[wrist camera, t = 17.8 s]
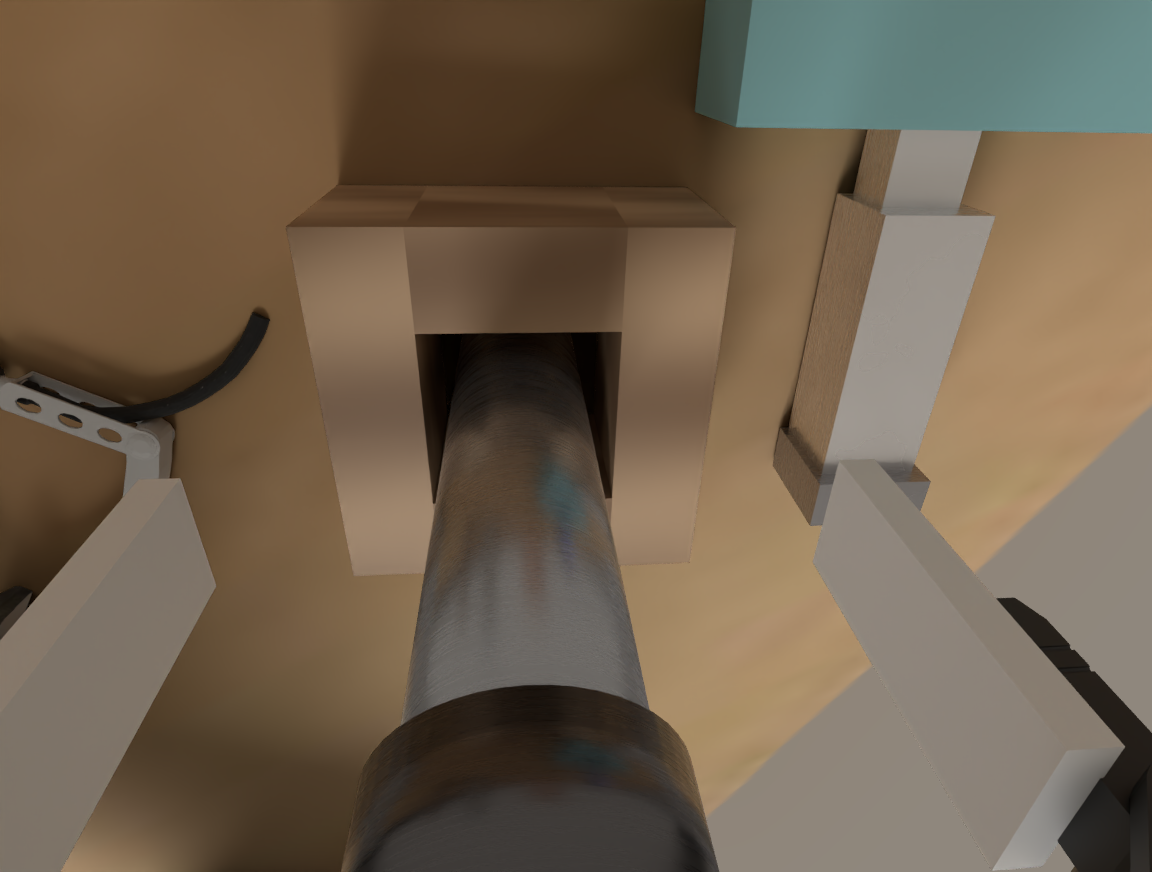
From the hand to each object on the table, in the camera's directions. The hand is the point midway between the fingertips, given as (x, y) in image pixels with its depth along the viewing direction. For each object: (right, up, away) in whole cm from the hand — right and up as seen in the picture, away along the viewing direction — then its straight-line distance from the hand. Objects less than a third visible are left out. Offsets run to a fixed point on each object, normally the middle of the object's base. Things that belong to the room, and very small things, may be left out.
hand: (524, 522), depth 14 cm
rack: (-1, +5, +8) cm, 9 cm away
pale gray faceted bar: (+10, +7, +8) cm, 14 cm away
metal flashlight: (-1, +5, +8) cm, 9 cm away
